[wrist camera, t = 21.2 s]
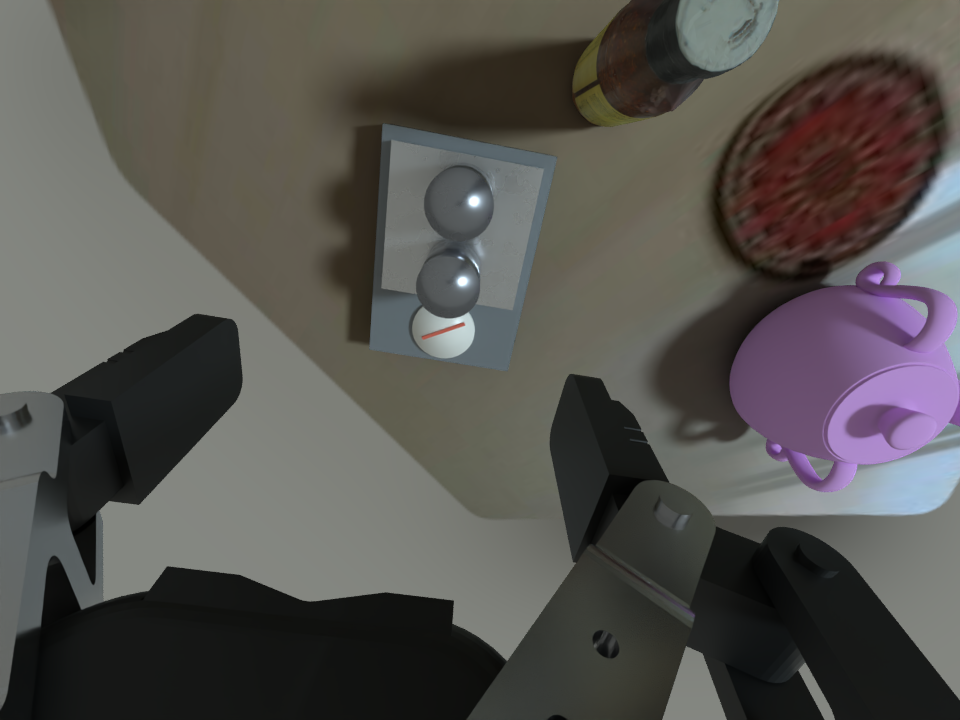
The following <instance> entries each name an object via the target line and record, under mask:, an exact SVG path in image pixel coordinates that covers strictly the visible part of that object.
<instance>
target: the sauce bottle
mask: <svg viewBox="0 0 960 720" xmlns="http://www.w3.org/2000/svg"><path fill="white" fill-rule="evenodd" d="M778 2H779V0H631V1H630V3H629V4H627V5H626V6H625V7H624V8H622V9H621V10H620V11H619V12H618V13H617V14H616V16H615V17H614V18H613V19H612V20H611V21H610V22H609V23H608V25H607V26H606V27H605V28H604V29H603V30H602V31H601V32H600V33H599V34H598V36H597V37H596V38H595V39H594V40H593V41H592V42H591V43H590V45H589V46H588V47H587V48H586V49H585V51H584V52H583V54H582V55H581V57H580V59H579V61H578V63H577V65H576V67H575V72H574V77H573V84H572V85H573V87H572V91H573V94H572V95H573V101H574V104H575V106H576V108H577V110H578V111H579V113H580V114H581V115H582V116H583V117H584V118H586V119H587V120H588V121H589V122H590V123H592V124H594V125H600V126H605V127H613V126H618V125H622V124H628V123H632V122H637V121H641V120H645V119H649V118H653V117H656V116H659V115H662V114H664V113H666V112H669V111H673V110H675V109H676V108H677V107H678V106H679V105H680V104H681V103H683V102H684V101H685V100H686V99H687V98H688V97H689V96H690V95H691V94H692V93H693V92H694V91H695V90H696V89H697V88H698V87H699V85H700V84H701V83H702V81H703V80H704V79H707V78H712V77H715V76H719V75H721V74H723V73H725V72H728V71H729V70H732V69H734V68H735V67H737V66H739V65H741V64H742V63H744V62H745V61H746V60H748V59H749V58H751V57H752V55H753V54H754V53H755V52H756V51H757V49H758V48H759V47H760V46H761V44H762V43H763V41H764V40H765V38H766V36H767V35H768V33H769V31H770V29H771V27H772V24H773V22H774V19H775V16H776V13H777V8H778Z"/></svg>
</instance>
